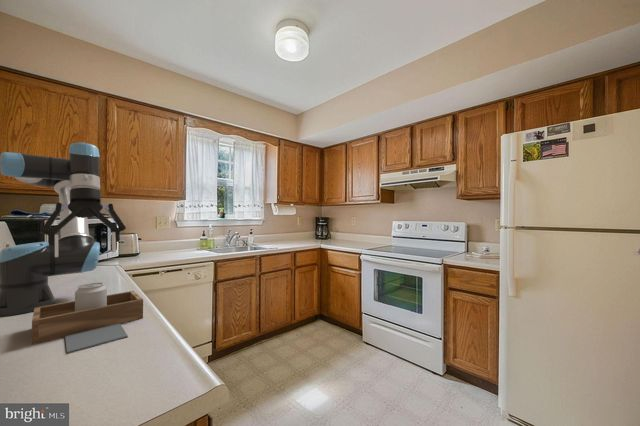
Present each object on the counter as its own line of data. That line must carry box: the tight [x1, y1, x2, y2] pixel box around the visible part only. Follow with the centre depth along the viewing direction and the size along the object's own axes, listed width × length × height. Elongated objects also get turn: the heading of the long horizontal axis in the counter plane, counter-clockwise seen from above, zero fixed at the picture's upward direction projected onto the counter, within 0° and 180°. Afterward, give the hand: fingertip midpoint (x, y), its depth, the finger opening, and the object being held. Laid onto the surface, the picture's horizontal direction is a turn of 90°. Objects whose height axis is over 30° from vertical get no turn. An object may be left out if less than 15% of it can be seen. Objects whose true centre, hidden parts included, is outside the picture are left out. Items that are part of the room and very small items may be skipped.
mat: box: [64, 323, 129, 355], centre depth 72 cm, size 12×12×1 cm
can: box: [74, 282, 108, 312], centre depth 82 cm, size 8×8×12 cm
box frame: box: [31, 290, 144, 345], centre depth 82 cm, size 14×24×6 cm, turn 136°
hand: (87, 254), depth 83 cm, fingers open, 13 cm apart
